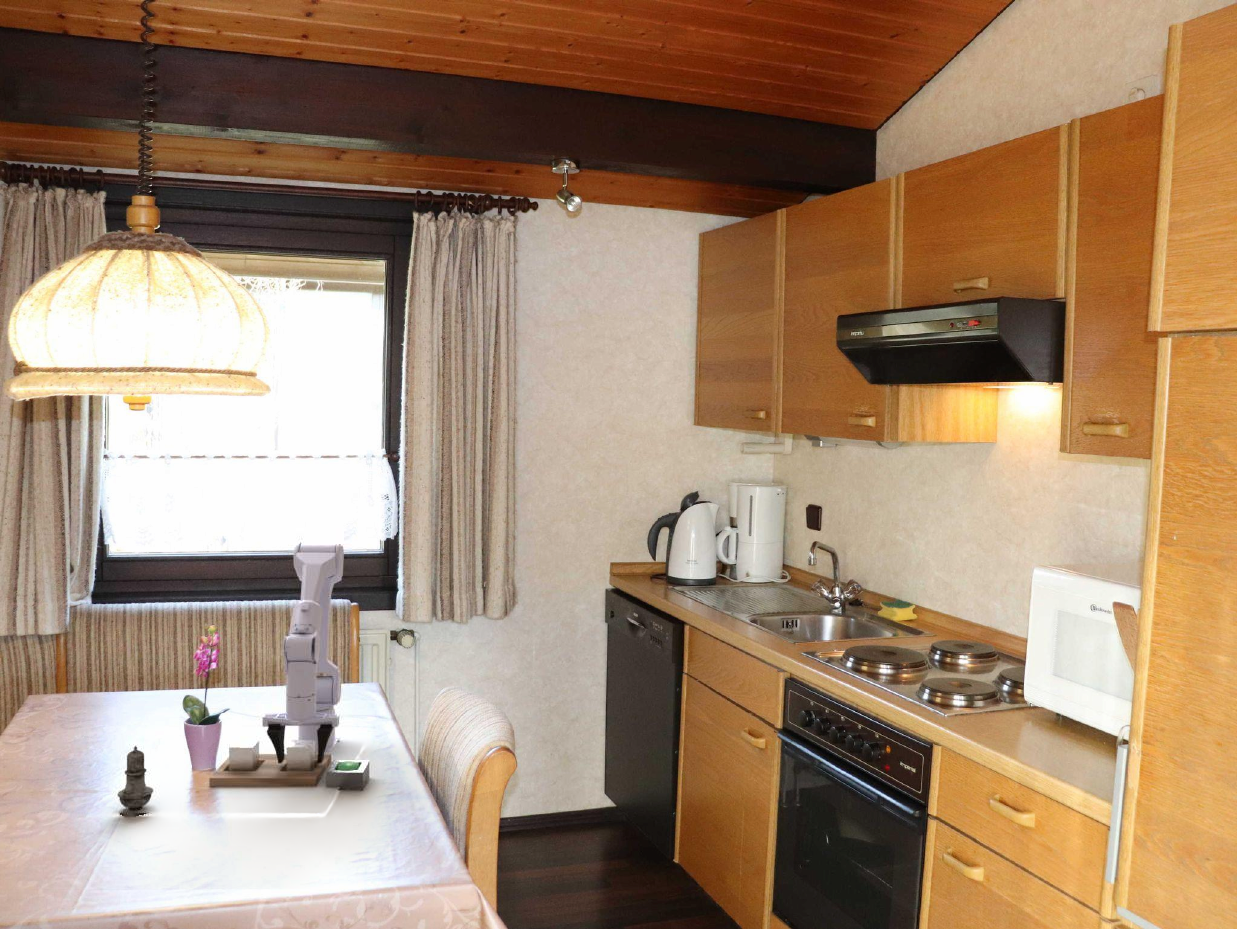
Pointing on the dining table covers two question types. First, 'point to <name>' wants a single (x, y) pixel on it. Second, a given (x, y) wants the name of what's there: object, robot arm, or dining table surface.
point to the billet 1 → (244, 755)
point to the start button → (348, 765)
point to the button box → (348, 776)
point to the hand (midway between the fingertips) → (300, 761)
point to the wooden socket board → (269, 774)
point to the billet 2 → (301, 755)
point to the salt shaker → (135, 784)
